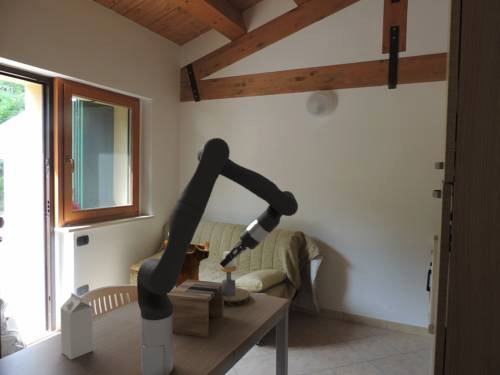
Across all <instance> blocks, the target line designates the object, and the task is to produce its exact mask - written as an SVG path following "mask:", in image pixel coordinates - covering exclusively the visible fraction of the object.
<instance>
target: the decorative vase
mask: <svg viewBox="0 0 500 375" xmlns="http://www.w3.org/2000/svg"><path fill="white" fill-rule="evenodd" d="M167 242H168V239H166V240H164V243H163V246H164V248H163V251H164V250H165V248H166V245H167ZM210 253H211V252H210V240H206V242H205V243H204V244H203V243H194V242H191V243H190V246H189V248H188V251H187V253H186V256H185V259H184V262H183V266H182V269H181V272H180V275H179V278H178V280H177V283H176V285H175V288H176V287H178V286H179V285H180V284H182V283H183V282H185V281H186V280H187V279H188V280H199V281H200V279H199V277H200V266H201V262H202V261H203V260H207V259H208V258H209V256H210Z"/></svg>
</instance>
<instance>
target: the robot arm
mask: <svg viewBox="0 0 500 375" xmlns="http://www.w3.org/2000/svg"><path fill="white" fill-rule="evenodd" d="M196 156H197V158H196V159H197V161H198V163H197V166H196V168H195V171H194V172H193V174H192V176H191V177H190V178H189V181H187V183H186V185H185V186H184V187H183V189H182V191H181V192H180V194H179V196H178V197H177V199H176V201H175V204H174V206H173V208H172V210H171V213H170V214H169V219H168V220H169V221H168V237H167V241H168V242H167V245H166V248H165V250H164V249H163V252H162V255H161V256H160V258H159V259H158V258H148V259H146V260H145V261H143V262H142V263H141V265H140V266H139V268H138V271H137V274H136V289H137V290H136V291H137V304H138V307H139V310H140V350H141V351H140V357H141V358H140V363H141V364H140V365H141V366H140V367H141V369H140V370H141V371H140V373H141V375H170V374H171V373H172V372H173V370H174V332H173V304H172V302H171V300H170V299H169V297H168V295H167V294H168V293H169V292H171V291H172V290H174V289H175V288H176V286H175V285H176V283H177V280H178V278H179V275H180V272H181V269H182V266H183V262H184V259H185V256H186V253H187V251H188V248H189V246H190V243H192V241H193V238H194V236H195V234H196V230H197V228H198V226H199V225H200V223H201V220H202V219H203V215H204V213H205V210H206V208H207V206H208V203H209V200H210V198H211V195H212V193H213V190H214V186H215V184H216V182H217V179H218V178H219V176H220V175H221V176H222V177H224V178H225V179H227V180H230V181H232V182H234V183H236V184H238V185H239V186H241V187H242V188H244V189H246V190H247V191H249V192H250V193H252V194H253V195H255V196H256V197H258V198H259V199H261V200H264V202H266V203H267V204H268V207H267V208H266V209H265V210H264V211H263V212H262V213H261V214H260V215H259V216H258V217H257V218H256V219H255V220H253V221H252V222H251V223H250V224H249V225H247V227H245V228H244V229H243V230H242V232H240V234H239V239H240V241H238V242H237V243H236V244H235V245H234V247H232V248H231V249H230V250H229V251H230V253H229V254H228V255H226V258H225V259H224V260H223V259H222V260H221V261H220V262H219V265H220V267H221V266H222V267H225V266H226V265H227V264H228V263H229V262H231V261H232V260H233V259H234V260H235V259H237V258H238V257H239V256H240V255H242V254H243V253H244V252H245V251H247V250H248V249H249V250H254V249H256V248H257V247H258V246H259V245H260V244H261V243H262V242H263V241H264V240H265V239H266V238H267V237H268V236H269V235H270V234H271V232H272V231H274V229H276V228H277V227H278V226H279V225H280V222H281V218H282V216H285V217H290V216H293V215H295V214H297V212H298V209H299V205H298V201H297V199H296V197H295V195H294V194H293V193H292V192H291V191H288V190H283V191H282V190H281V189H280V188H279V187H278V185H277V184H276V183H274V182H273V181H272V180H270V179H269V178H267V177H266V176H264V175H262V174H261V173H258V172H256V171H254V170H252V169H250V168H247V167H244V166H241V165H240V164H237V163H236V162H234V161H233V160H231V159H230V147H229V143H227V142H226V140H224V139H223V138H220V137H214V138H211V139H208V140H207V141H206V142H204V143H203V145H202V146H200V147H199V149H198V151H197V155H196ZM229 255H230V256H231V257H232V258H231V257H230V256H229Z"/></svg>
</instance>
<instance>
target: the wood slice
mask: <svg viewBox="0 0 500 375" xmlns="http://www.w3.org/2000/svg"><path fill="white" fill-rule="evenodd" d="M250 300H251V295H250V291H248V290H247V289H244V288H241V287H235V295H234V296H231V297H226V296H224V306H225V307H239V306H244V305H246V304H248V303H249V302H250Z"/></svg>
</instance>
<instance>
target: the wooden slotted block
mask: <svg viewBox="0 0 500 375" xmlns="http://www.w3.org/2000/svg"><path fill="white" fill-rule="evenodd" d="M167 295H168V297H169V299H170V300H171V302H172V304H173V334H174V333H176V334H183V335H188V336H196V337H203V338H207V337H209V335H210V334H209V333H210V332H209V326H210V325H209V323H210V322H209V317H211V318H219V319H220V318H221V319H223V318H224V296H223V295H222V282H220V281H219V282H217V281H207V280H200V279H199V280H188V279H187V280H186V281H185V282H183V283H182V284H180V285H179V286H178V287H176V286H175V287H174V288H173V289H172V290H171V291H170V292H169V293H168V294H167Z"/></svg>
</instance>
